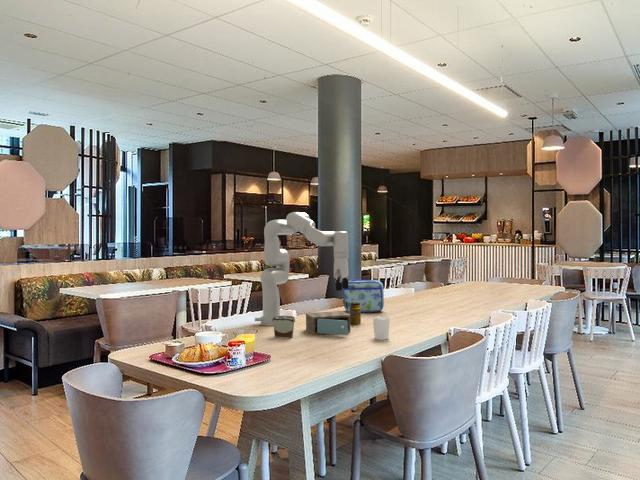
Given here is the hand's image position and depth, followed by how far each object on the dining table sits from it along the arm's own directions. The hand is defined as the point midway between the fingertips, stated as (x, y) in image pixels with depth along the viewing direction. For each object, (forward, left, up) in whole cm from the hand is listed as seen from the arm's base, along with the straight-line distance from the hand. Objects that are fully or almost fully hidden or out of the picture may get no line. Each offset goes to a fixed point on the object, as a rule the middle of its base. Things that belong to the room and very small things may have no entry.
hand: (342, 289), depth 264 cm
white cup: (+15, -16, -23) cm, 32 cm away
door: (-6, -2, -22) cm, 23 cm away
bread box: (-4, +11, -23) cm, 26 cm away
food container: (-28, +5, -23) cm, 37 cm away
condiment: (+16, +25, -23) cm, 38 cm away
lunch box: (+37, +64, -23) cm, 77 cm away
